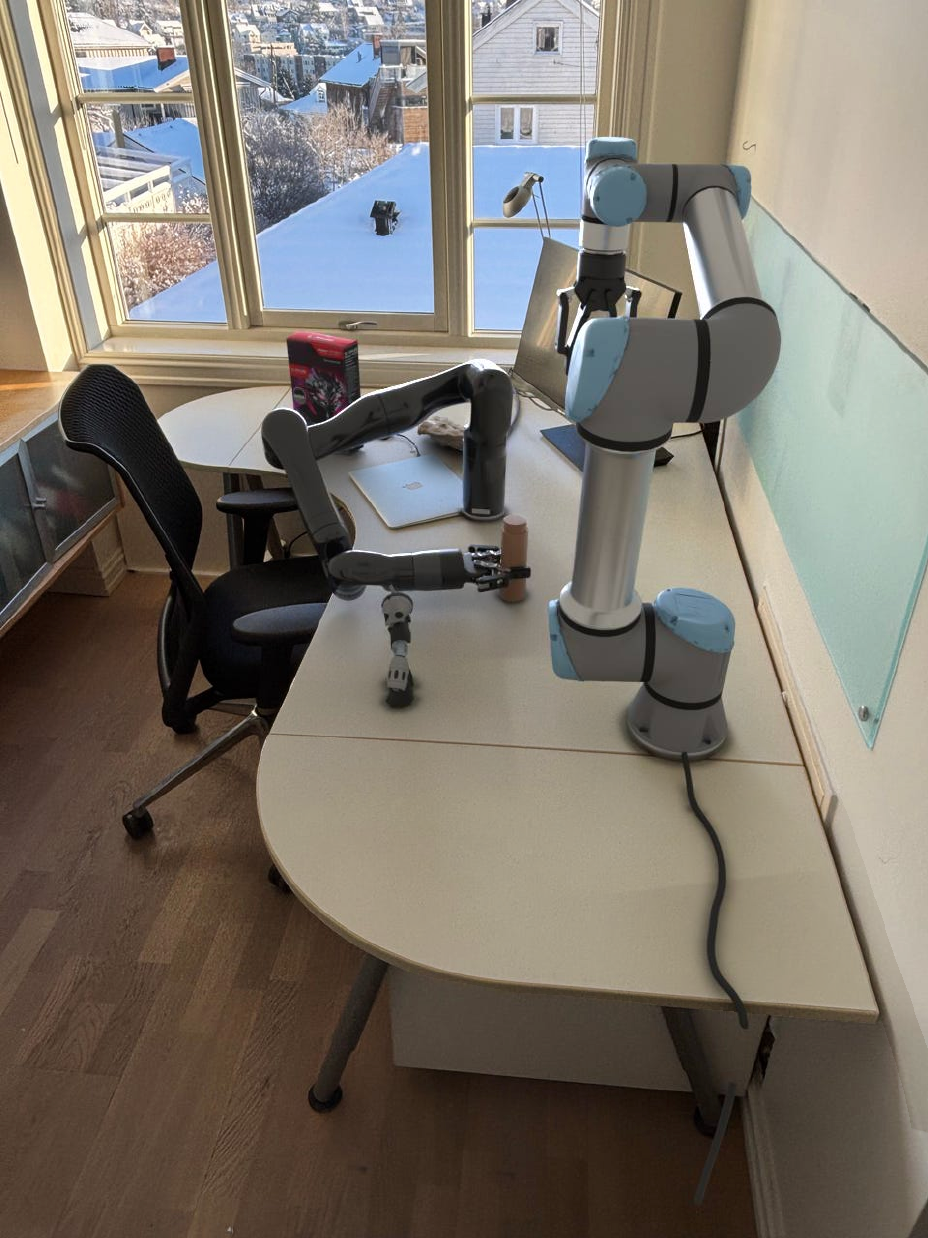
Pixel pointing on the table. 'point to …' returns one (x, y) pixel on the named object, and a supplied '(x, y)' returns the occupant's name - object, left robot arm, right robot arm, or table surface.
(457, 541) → the table surface
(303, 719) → the table surface
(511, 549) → the jar
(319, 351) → the graphics card box
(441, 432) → the stone
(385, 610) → the robot
